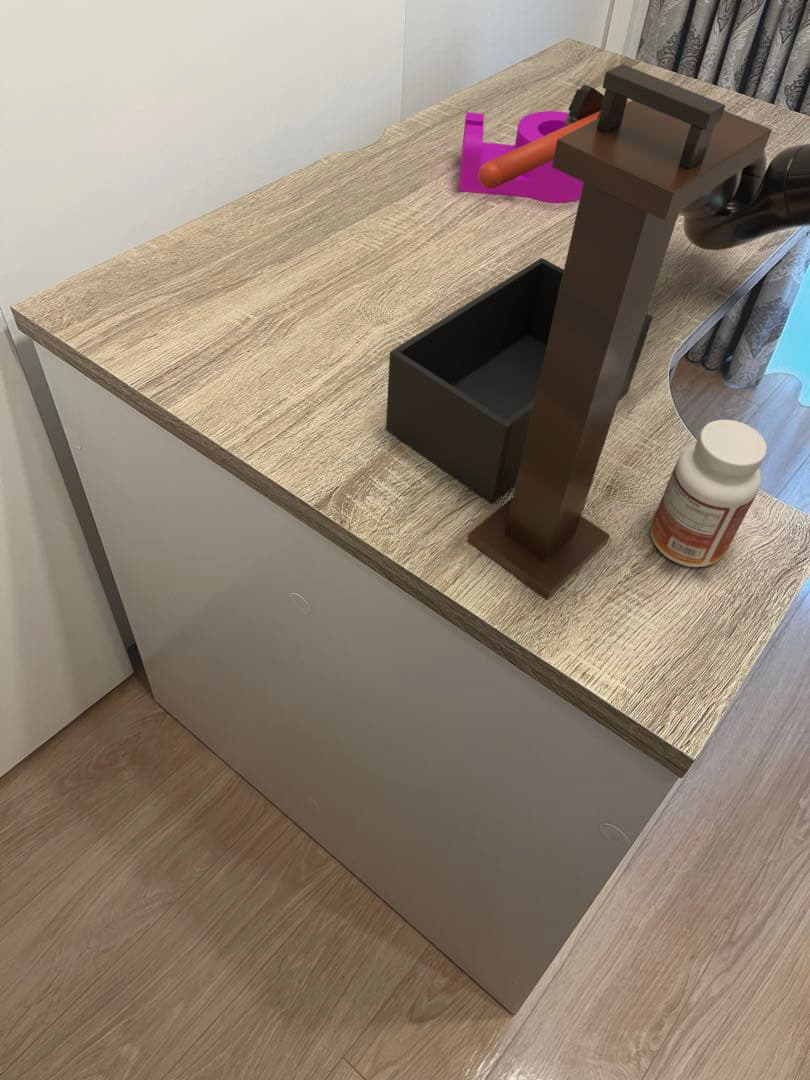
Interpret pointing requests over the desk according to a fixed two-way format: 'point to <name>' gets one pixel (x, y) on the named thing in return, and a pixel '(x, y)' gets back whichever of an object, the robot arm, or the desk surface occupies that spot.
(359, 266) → the desk surface
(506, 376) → the bin
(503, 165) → the orange red rod
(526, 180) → the tape dispenser
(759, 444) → the pill bottle
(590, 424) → the brown pedestal stand
